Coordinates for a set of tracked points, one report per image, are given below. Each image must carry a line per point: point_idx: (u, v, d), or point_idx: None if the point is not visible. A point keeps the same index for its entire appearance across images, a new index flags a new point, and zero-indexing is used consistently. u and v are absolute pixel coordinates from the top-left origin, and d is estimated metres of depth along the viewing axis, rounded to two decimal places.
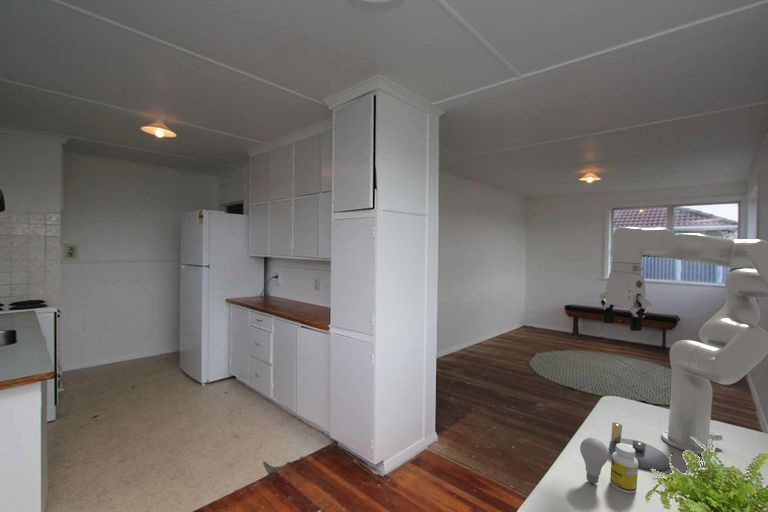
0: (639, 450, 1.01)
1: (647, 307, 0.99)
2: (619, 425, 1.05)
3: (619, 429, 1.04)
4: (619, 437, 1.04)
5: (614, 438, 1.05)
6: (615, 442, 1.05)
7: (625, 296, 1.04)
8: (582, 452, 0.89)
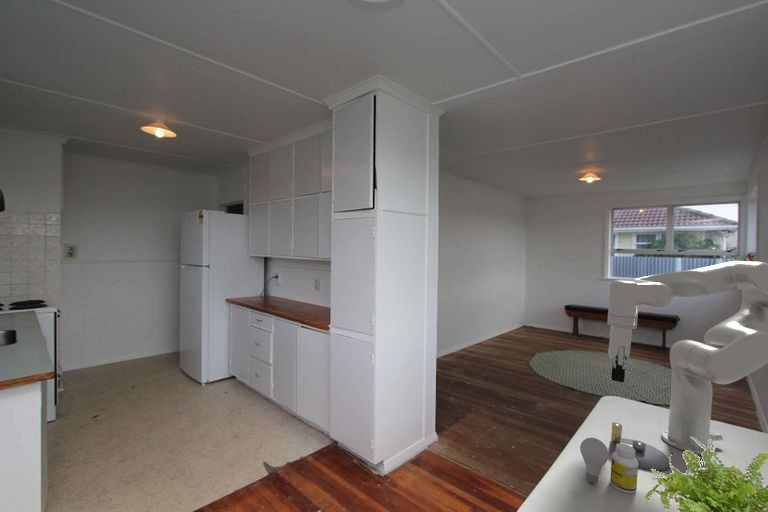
0: (639, 450, 1.01)
1: None
2: (619, 425, 1.05)
3: (619, 429, 1.04)
4: (619, 437, 1.04)
5: (614, 438, 1.05)
6: (615, 442, 1.05)
7: None
8: (582, 452, 0.89)
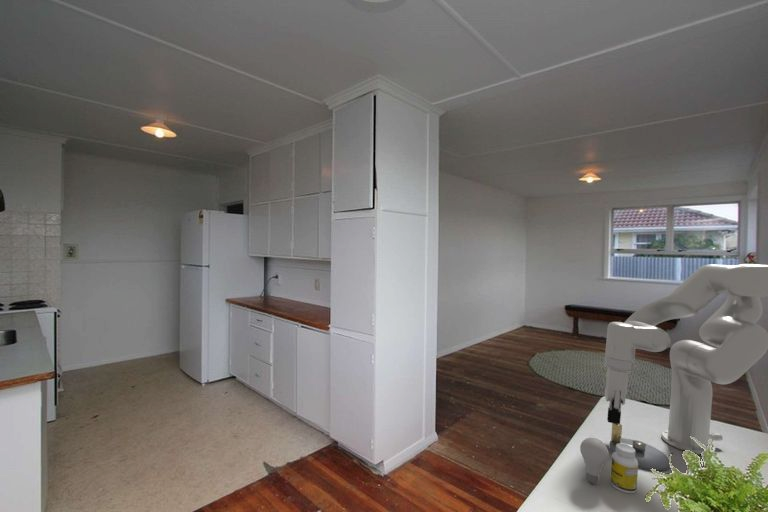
0: (639, 450, 1.01)
1: None
2: (619, 425, 1.05)
3: (619, 429, 1.04)
4: (619, 437, 1.04)
5: (614, 438, 1.05)
6: (615, 442, 1.05)
7: None
8: (582, 452, 0.89)
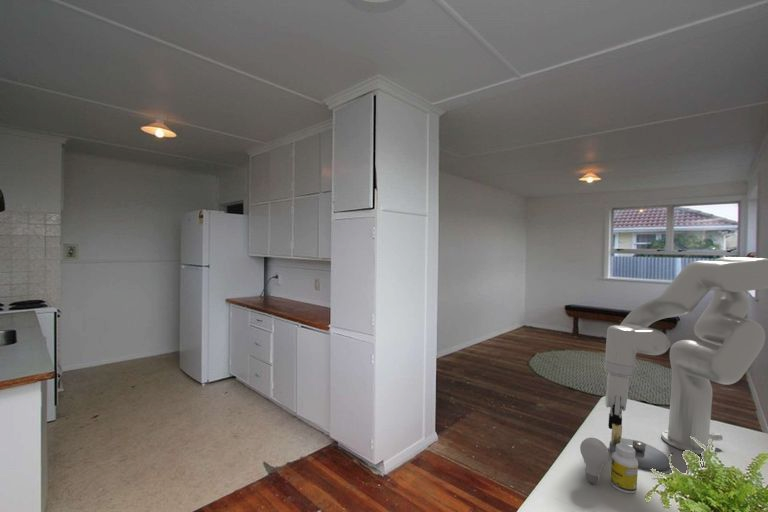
0: (639, 450, 1.01)
1: None
2: (619, 425, 1.05)
3: (619, 429, 1.04)
4: (619, 437, 1.04)
5: (614, 439, 1.04)
6: (615, 443, 1.04)
7: None
8: (582, 452, 0.89)
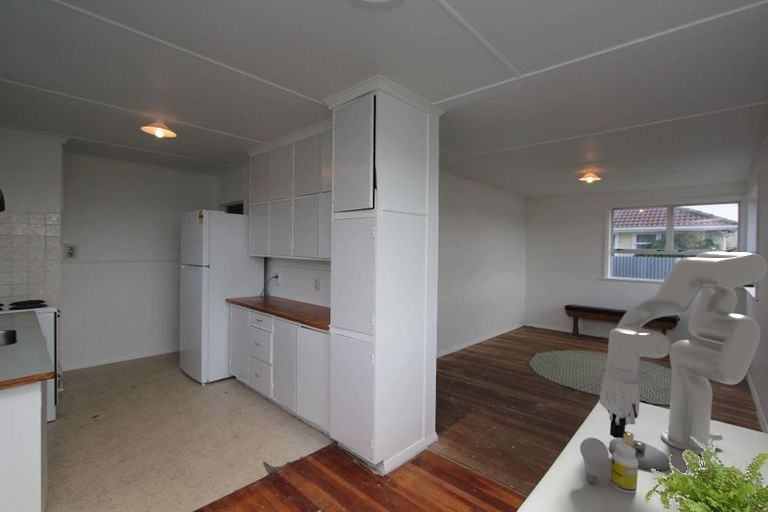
0: (644, 450, 1.01)
1: None
2: (630, 433, 1.00)
3: None
4: (632, 446, 1.00)
5: None
6: None
7: None
8: (582, 452, 0.89)
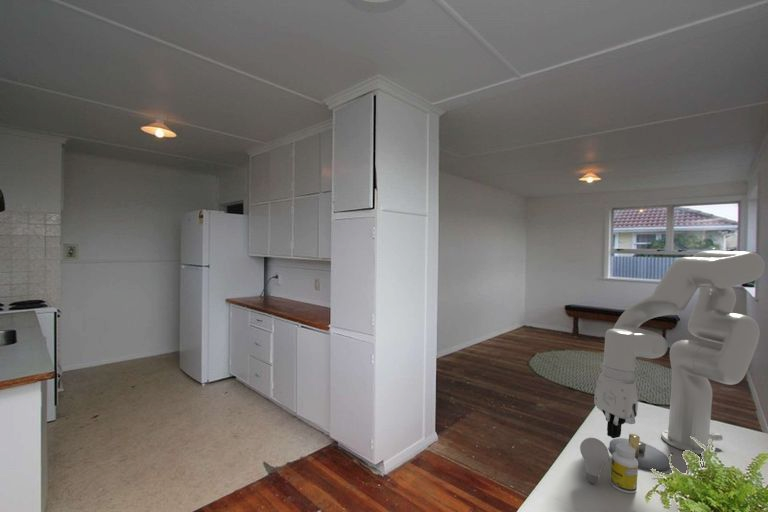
0: None
1: None
2: (636, 435, 0.99)
3: None
4: None
5: (637, 452, 0.98)
6: (638, 455, 0.98)
7: None
8: (582, 452, 0.89)
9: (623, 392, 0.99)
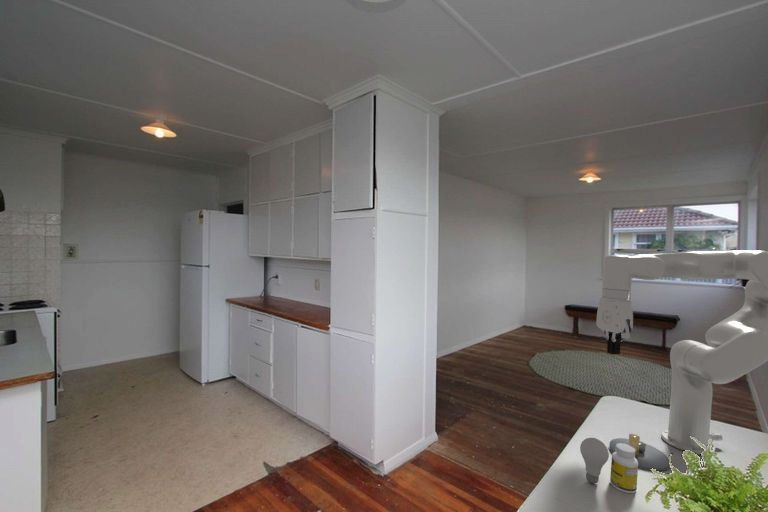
0: None
1: None
2: (636, 435, 0.99)
3: None
4: None
5: (637, 452, 0.98)
6: (638, 455, 0.98)
7: None
8: (582, 452, 0.89)
9: (617, 309, 1.08)
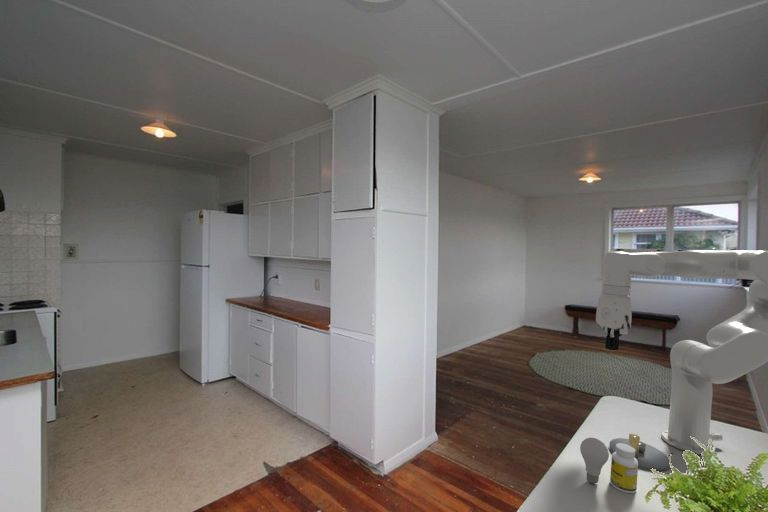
0: None
1: None
2: (636, 435, 0.99)
3: None
4: None
5: (637, 452, 0.98)
6: (638, 455, 0.98)
7: None
8: (582, 452, 0.89)
9: (615, 305, 1.09)
